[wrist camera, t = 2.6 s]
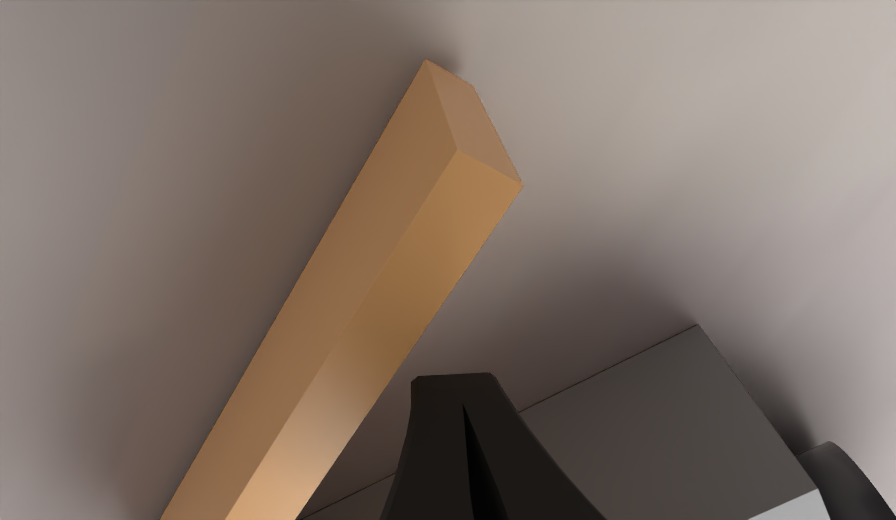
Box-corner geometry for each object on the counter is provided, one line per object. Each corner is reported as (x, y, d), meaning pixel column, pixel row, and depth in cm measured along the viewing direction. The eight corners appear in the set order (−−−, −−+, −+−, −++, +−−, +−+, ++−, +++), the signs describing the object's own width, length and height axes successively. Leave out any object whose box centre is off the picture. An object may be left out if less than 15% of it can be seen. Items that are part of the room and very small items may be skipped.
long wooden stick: (180, 563, 18) (133, 755, 14) (140, 552, 18) (82, 746, 14) (473, 85, 13) (523, 185, 9) (425, 58, 13) (457, 149, 9)
